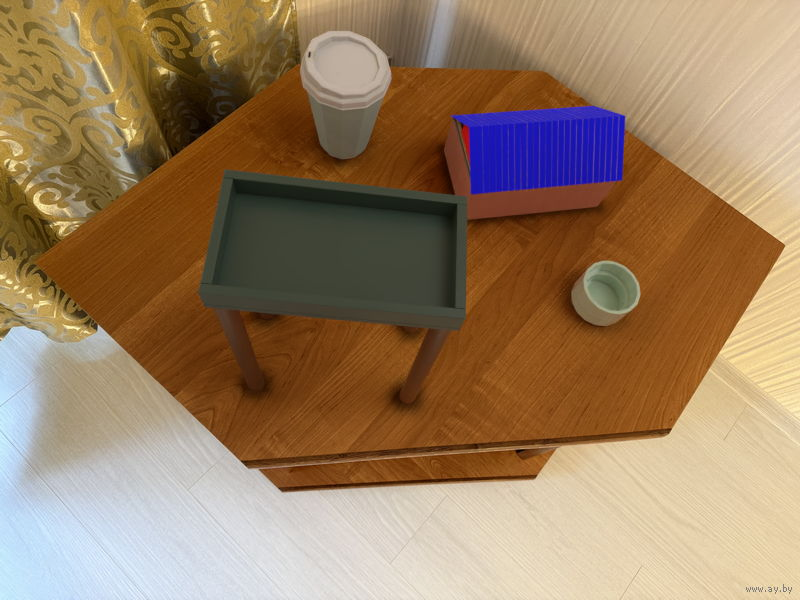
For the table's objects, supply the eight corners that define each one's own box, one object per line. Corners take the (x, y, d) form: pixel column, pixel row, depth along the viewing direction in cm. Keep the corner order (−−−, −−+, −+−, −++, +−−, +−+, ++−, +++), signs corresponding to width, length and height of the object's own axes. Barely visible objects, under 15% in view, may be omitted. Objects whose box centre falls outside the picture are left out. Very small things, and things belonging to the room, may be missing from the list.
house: (441, 148, 82) (458, 87, 72) (574, 137, 86) (610, 78, 75) (459, 222, 78) (480, 169, 67) (600, 208, 81) (641, 155, 71)
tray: (415, 405, 67) (465, 319, 43) (245, 391, 66) (197, 293, 42) (419, 319, 72) (467, 196, 47) (259, 303, 70) (224, 168, 46)
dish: (625, 329, 74) (643, 316, 70) (571, 324, 74) (585, 310, 70) (620, 279, 77) (637, 263, 73) (568, 274, 76) (581, 257, 72)
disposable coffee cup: (384, 116, 83) (395, 29, 70) (380, 179, 79) (391, 100, 65) (308, 107, 82) (304, 18, 69) (299, 171, 78) (294, 89, 64)
